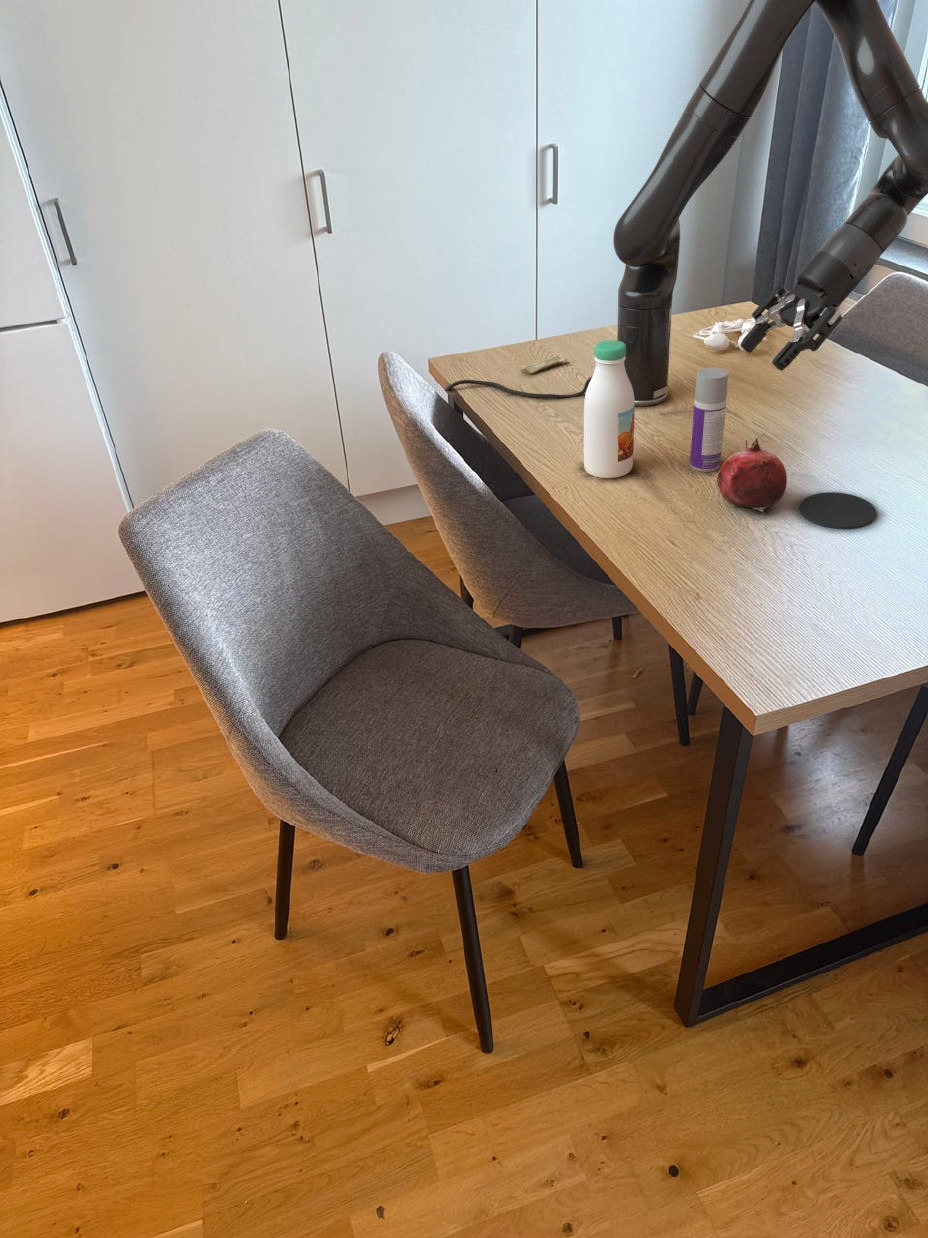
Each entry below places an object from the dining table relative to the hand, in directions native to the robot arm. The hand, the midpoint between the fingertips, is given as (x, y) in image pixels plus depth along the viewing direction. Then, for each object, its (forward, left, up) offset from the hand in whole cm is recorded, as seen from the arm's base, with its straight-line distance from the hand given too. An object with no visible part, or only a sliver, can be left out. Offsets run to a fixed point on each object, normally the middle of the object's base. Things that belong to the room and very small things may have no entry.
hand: (760, 357), depth 135 cm
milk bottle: (-18, -13, -16) cm, 28 cm away
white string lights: (-20, +50, -16) cm, 56 cm away
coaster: (+17, -13, -16) cm, 26 cm away
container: (-5, -6, -16) cm, 18 cm away
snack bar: (-49, +23, -16) cm, 57 cm away
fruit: (+5, -15, -16) cm, 23 cm away
